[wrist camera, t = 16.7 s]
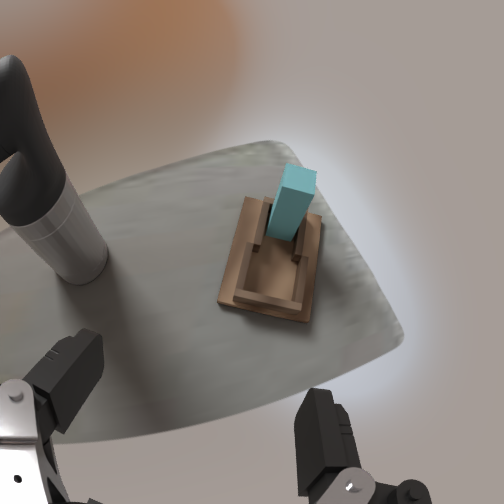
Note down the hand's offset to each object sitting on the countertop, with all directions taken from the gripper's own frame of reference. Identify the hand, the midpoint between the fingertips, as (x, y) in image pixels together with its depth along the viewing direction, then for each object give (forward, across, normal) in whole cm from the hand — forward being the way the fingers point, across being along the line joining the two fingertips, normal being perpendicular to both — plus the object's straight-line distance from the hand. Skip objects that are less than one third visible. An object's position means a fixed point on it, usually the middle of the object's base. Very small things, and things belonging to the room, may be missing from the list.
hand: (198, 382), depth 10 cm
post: (+37, -5, +2) cm, 38 cm away
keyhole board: (+35, -5, +6) cm, 36 cm away
